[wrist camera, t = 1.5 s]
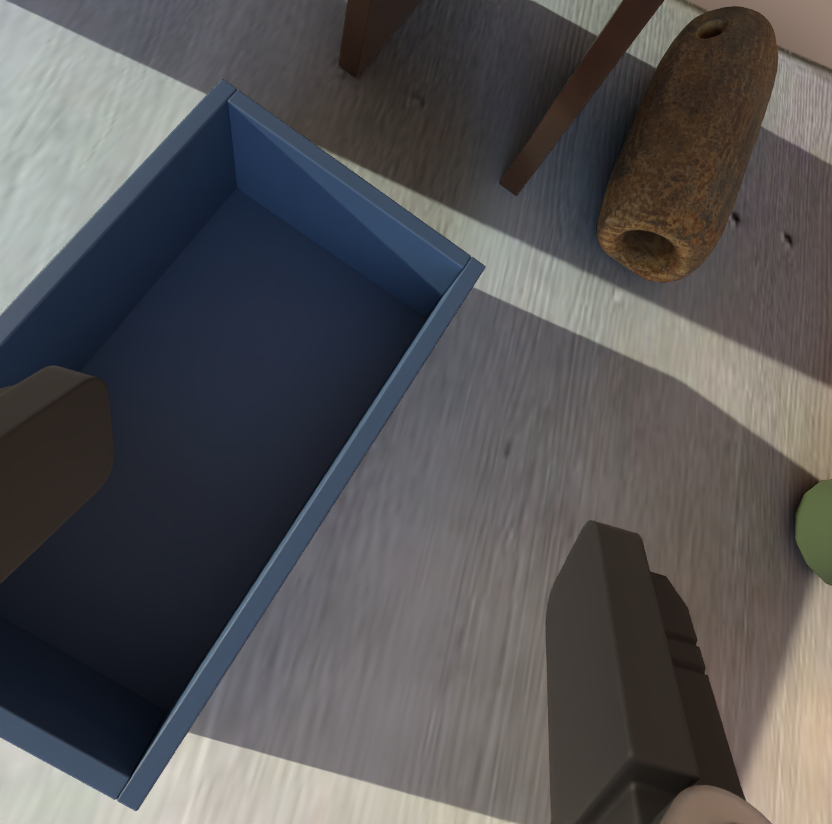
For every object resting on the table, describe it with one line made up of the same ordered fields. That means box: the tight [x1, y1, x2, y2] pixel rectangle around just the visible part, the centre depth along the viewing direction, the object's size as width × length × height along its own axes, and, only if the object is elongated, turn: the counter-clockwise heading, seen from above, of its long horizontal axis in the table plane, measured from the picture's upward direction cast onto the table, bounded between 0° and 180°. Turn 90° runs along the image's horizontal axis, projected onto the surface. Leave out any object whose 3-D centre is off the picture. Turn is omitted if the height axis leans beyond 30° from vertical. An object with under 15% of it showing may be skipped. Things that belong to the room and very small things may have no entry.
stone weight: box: [597, 6, 778, 283], centre depth 31 cm, size 15×7×7 cm, turn 162°
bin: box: [0, 79, 485, 811], centre depth 22 cm, size 12×22×7 cm, turn 150°
